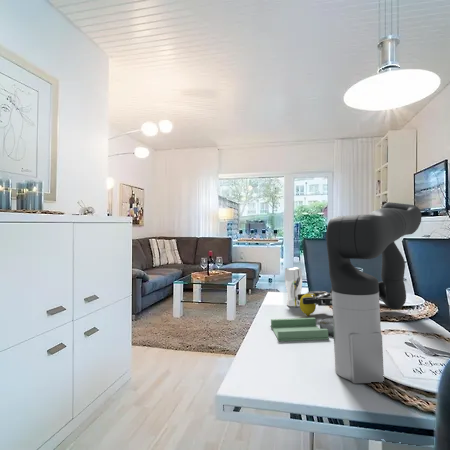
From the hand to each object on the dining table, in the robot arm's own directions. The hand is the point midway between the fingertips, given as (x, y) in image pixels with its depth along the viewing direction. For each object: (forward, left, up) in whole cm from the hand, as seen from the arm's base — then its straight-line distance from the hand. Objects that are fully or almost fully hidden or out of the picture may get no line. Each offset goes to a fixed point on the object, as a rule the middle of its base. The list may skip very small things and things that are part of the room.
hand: (300, 299), depth 108 cm
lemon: (0, -3, -6) cm, 7 cm away
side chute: (-17, +5, -6) cm, 19 cm away
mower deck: (-17, -9, -6) cm, 20 cm away
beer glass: (+16, -2, -6) cm, 17 cm away
